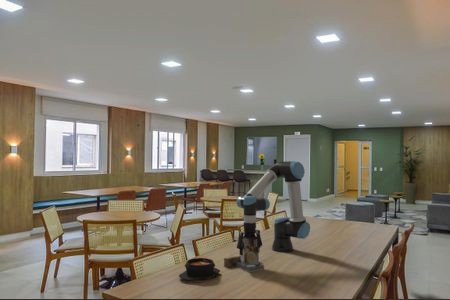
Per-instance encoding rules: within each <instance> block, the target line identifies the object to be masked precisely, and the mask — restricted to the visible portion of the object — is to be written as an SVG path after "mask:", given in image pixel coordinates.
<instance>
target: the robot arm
mask: <svg viewBox="0 0 450 300" xmlns="http://www.w3.org/2000/svg"><path fill="white" fill-rule="evenodd" d="M305 173H306V172H305V167H304V165H303V164H302V163H301V162H300V161H294V160H293V161H291V160H289V161H281V160H280V161H277V162H276V163H274V164H272V165H271V166H270V167H269V168H267V170H266V171H265V174H264V175H263V176H262V177H261V178H259V180H258V181H256V183H255V184H254V185H253V186H252V187H251V188H250V190H248V191H247V193H245V195H244V196H243V195H242V196H239V197H238V198H237V199H236V205H237V207H238V208H240V209H243V230H242V231H239V232H238V233H239V235H238V236H239V237H238V240H237V244H236V249H239V256H241V260H242V261H244V250H243V248H244V242H243V236H244V238H249V237H258V257H259V255H260V251H261V250H260V248H261V247H263V242H262V237H261V230H259V229H257V212H260V211H262V212H263V211H267V210H269V209H270V206H271V205H270V204H271V201H269V200H270V199H268V198H266V197H264V198H263V197H262V198H260V197H261V195H262V194H263V193H264V192H265V191H266V190H267V189H268V187H270V186H271V184H273V182H276V181H277V180H279V179H284V183H286V185H287V192H288V193H287V194H288V203H289V212H290V213H289V214H290V217H289V216H287V217H286V216H285V217H284V216H282V217H276V218H275V219H274V222H273V223H274V224H273V225H274V226H273V227H274V233H273V234H274V239H273V242H272V244H271V249H272V251H276V252H280V253H286V252H287V253H288V252H292V251H294V246H293V243H292V240H291V239H292V238H295V239H299V240H300V239H303V240H305V239H306V238H308V236H309V235H310V232H311V225H310V223H309V222H308V221H307V219H306V217H305V216H304V210H303V201H302V190H301V182H302V180H303V178H304V176H305Z"/></svg>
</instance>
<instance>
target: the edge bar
mask: <svg viewBox="0 0 450 300" xmlns="http://www.w3.org/2000/svg"><path fill="white" fill-rule="evenodd" d="M236 262H241V255H236V256H231V257H224V258H223V267H224V268H231V267H236Z"/></svg>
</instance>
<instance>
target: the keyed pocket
mask: <svg viewBox="0 0 450 300" xmlns="http://www.w3.org/2000/svg"><path fill="white" fill-rule="evenodd" d="M235 267H237V269H241V270H243V271H244V272H247V273H253V272H257V271H263V270H265V265H264V264H262V263H260V262H259V264H258V265H247V266H244V265H243V264H242V263H241V262H236V266H235Z"/></svg>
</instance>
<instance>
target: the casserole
mask: <svg viewBox="0 0 450 300" xmlns="http://www.w3.org/2000/svg"><path fill="white" fill-rule="evenodd" d="M184 268H185V269H186V270H185V271H183V272H182V273H180V274H178V277H179V278H180V279H182V280H186V281H199V280H201V281H202V280H207V279H211V278H213V277H215V276H217V275H218V274H219V273H220V272H221V270H220V269H219V268H217V267H216V264H215V263H214V260H213V259H210V258H207V257H195V258H191V259H188V260H186V263H185V264H184Z"/></svg>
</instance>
